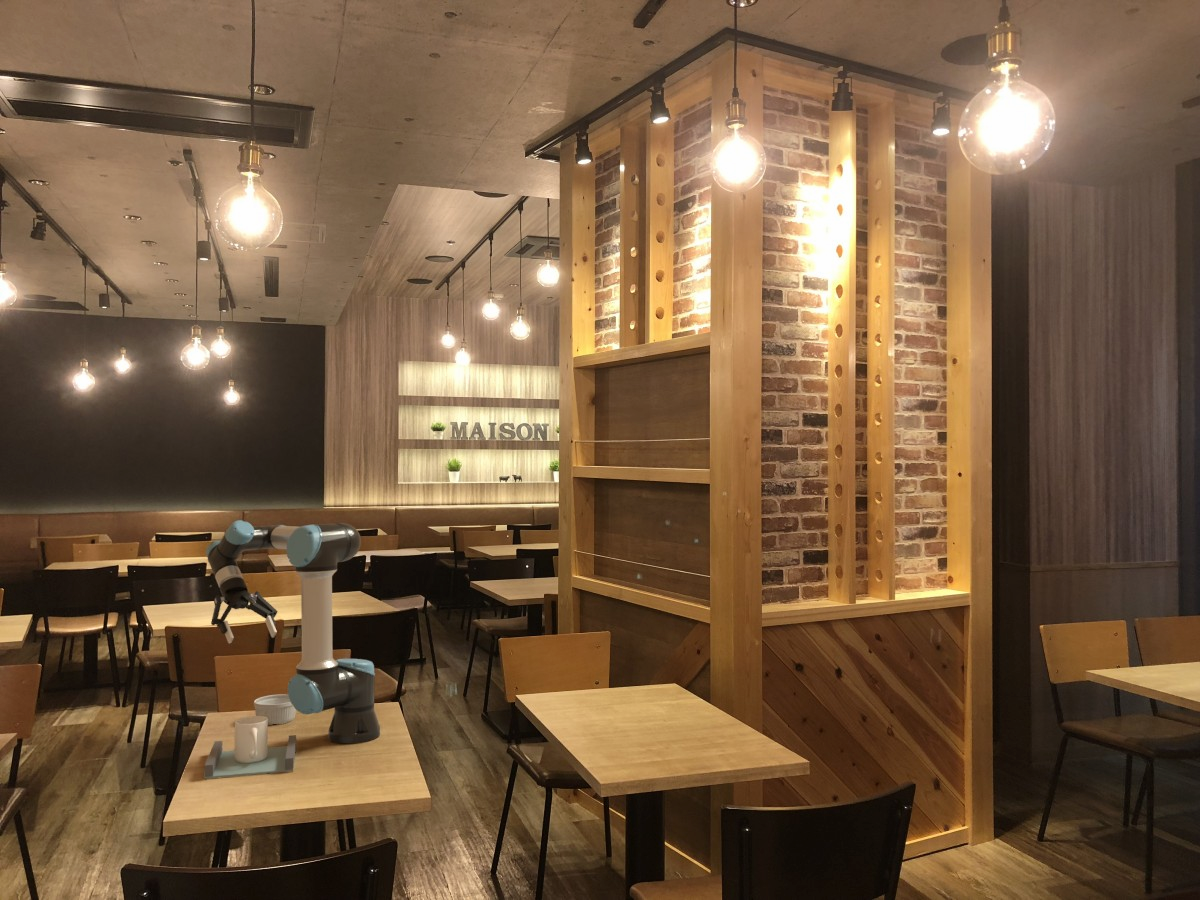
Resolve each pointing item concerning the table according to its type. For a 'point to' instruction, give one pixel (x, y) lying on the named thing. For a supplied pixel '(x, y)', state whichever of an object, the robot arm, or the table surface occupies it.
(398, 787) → the table surface
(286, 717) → the ramekin
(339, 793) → the table surface
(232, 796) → the table surface
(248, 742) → the mug
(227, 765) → the tray with side rails
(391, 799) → the table surface
